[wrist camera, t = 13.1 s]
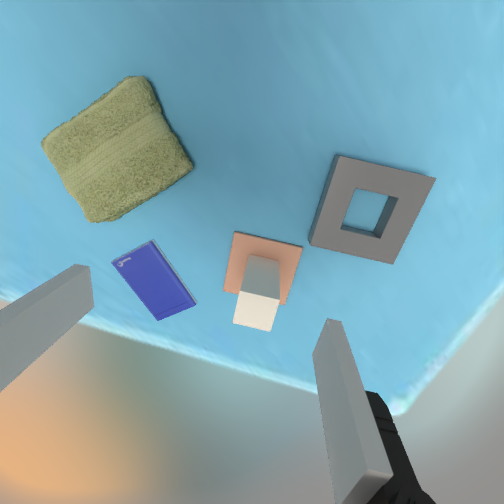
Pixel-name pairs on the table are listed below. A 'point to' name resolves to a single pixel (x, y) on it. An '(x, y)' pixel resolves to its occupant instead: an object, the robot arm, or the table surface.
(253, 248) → the pad
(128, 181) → the washcloth
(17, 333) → the robot arm
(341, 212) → the gray square ring
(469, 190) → the table surface
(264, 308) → the plug
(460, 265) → the table surface
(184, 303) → the hard drive
